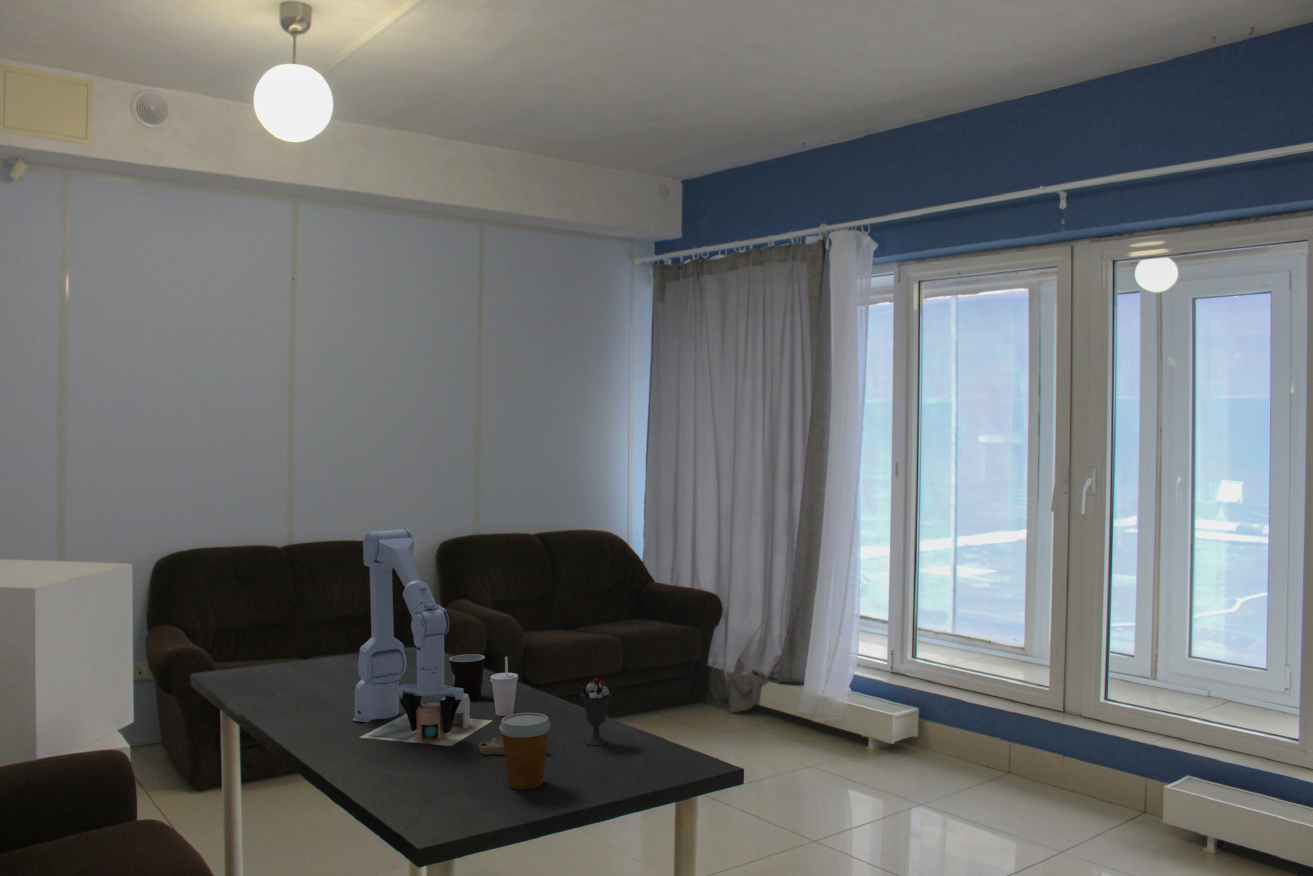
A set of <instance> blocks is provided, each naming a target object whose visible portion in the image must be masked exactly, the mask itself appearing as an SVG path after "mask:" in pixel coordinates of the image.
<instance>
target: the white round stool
mask: <svg viewBox="0 0 1313 876" xmlns="http://www.w3.org/2000/svg"><path fill="white" fill-rule="evenodd" d="M444 699H445V698H441V701H442V700H444ZM470 702H471V701H470V698H469V697H468V694H466V693H464V697H463V698H462V699H461V702H460V704H459V706H458V708H457V710H456V713H455V716H454V719H453V723H463V728H466V727H468V726H470V719H471V714H470V711H471V707H470V706H471V703H470Z"/></svg>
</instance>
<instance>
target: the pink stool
mask: <svg viewBox="0 0 1313 876" xmlns="http://www.w3.org/2000/svg"><path fill="white" fill-rule="evenodd" d="M416 718H417V739H418V740H419V741H422V736H424V735H425V734H424V728H425V726H426V725H433V724H436V725H437V727H438V733H437V734H438V740H441V739H443V738H445V737H446V733H443V716H442V710H441V706H440V702H427V703H422V704H420V705H419V706H418V709H417V710H416Z"/></svg>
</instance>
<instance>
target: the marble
mask: <svg viewBox="0 0 1313 876" xmlns="http://www.w3.org/2000/svg"><path fill="white" fill-rule="evenodd" d="M437 733H438V727H437V725H436V724H433V725H426V726H425V728H424V734H425V735H426V736H427V737H429V738H433V737H435V736H436V735H437Z"/></svg>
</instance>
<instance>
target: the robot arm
mask: <svg viewBox="0 0 1313 876" xmlns="http://www.w3.org/2000/svg"><path fill="white" fill-rule="evenodd" d="M414 541H415V540H414V535H413V534H412V531H410V529H408V528H403V529H391V530H390V529H387V530H375V531H374V530H369V531H368V532H367V533H366V534H365V537H364V538H363V542H362V550H363V556H362V557H363V564H364V566H365V567H369V590H370V591H369V592H370V594H369V595H370V624H371V626H370V627H371V628H370V629H371V632H370V633H371V634H370V635H371V637H370V638H369V639H368V640H367V641H366V642H365V643H364V644H362V645H361V646H360V647H359V653H358V660H357V673H358V675H359V677H360V678H361V679H360V680H359V681H358V683H356V686H355V689H354V718H352V721H353V722H361V723H362V722H363V723H368V722H370V721H372V720H385V719H390V718H394V717H397V716H398V715H399V714H400V704H401V706H402V707H403V709H404V712H405V714H407V716H408V719H409V723H410V726H411V731H415V730H417V718H416V710H417V709H418V706H419V705H421V701H422V697H431V698H441V701H439V703H440V706H441V710H442V716H443V733H448V732H450V731H451V728H452V723H453V719H454V716H455V713H456V710H457V708H458V706H459V704H460V702H461V699H462V698H463V697H464V689H463V688H456V687H453V686H452V685H451V686H450V685H445V635H446V636H447V634H448V633H449V629H450V618H449V615H448V612H447V610H446V609H445V608H444V607H442V606H441V604H437V602H436V600H435V598H434V595H433V594H432V593H433V592H432V591H431V589H430V587H429V584H428V583H427V582H425V581H421V579H420V575H419V572H418V569H417V566H416V563H415V560H414V557H413V553H414V547H415V544H414V543H415V542H414ZM393 569H394V571H395V572H396V574H397V576H398V577H399V580H400V581H401V584H402V585H403V587H404V589H403V592H402V597H403V599H404V601H405V604H406V606H407V609H408V611H409V614H410V615H411V618H412V619H411V623H410V628H411V632H412V633H411V634H412V635H413V643H414V646H416V683H415V684H413V683H411V684H410V683H409V684H405V683H404V684H403V683H402V684H401V685H399V680H402V676H403V675H404V673H405V672H406V670H407V667H408V665H407V662H408V660H407V656H406V653H405V645H404V644H403V642H401V641H400V640H399V639H397V638H396V637H395V635H394V634H395V632H394V630H395V629H394V628H395V627H394V602H393V601H394V599H393V597H394V596H393V595H394V593H393ZM400 696H402V697H401V698H400ZM399 698H400V699H399ZM443 698H445V699H444V700H442V699H443Z"/></svg>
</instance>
